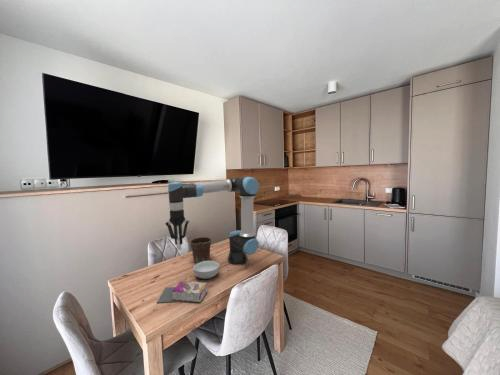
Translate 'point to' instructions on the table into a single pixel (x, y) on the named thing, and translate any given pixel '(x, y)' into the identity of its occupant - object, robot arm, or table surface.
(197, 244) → the plant pot
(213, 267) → the cereal bowl
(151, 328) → the table surface
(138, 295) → the table surface
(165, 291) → the mat
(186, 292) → the candy bar box
